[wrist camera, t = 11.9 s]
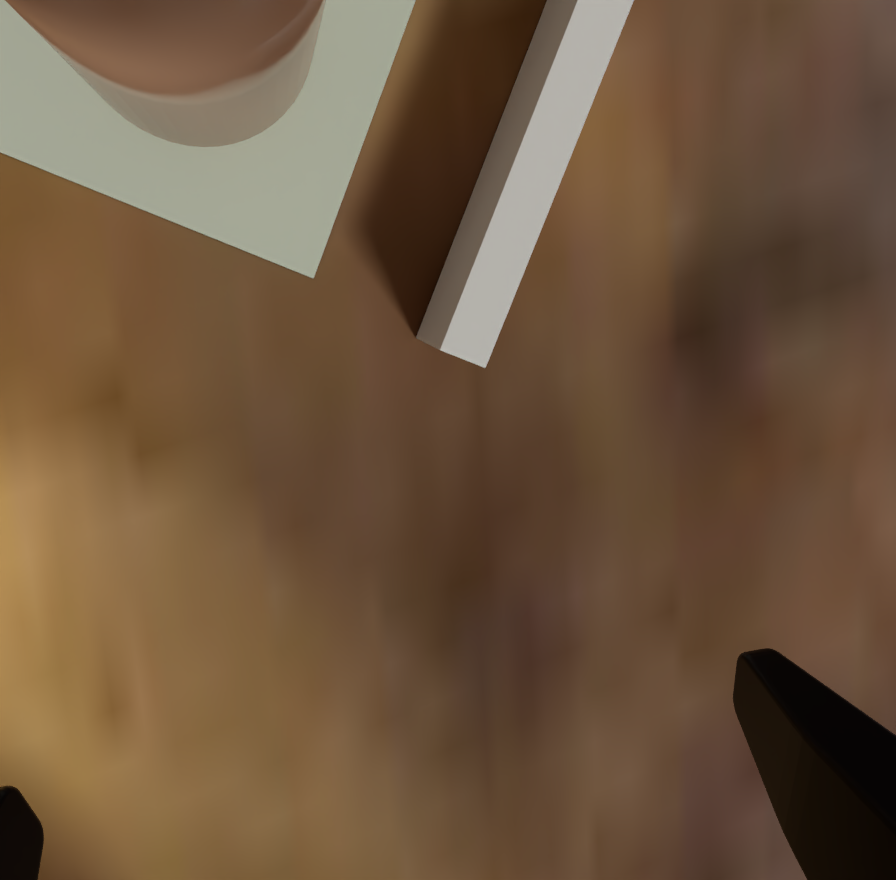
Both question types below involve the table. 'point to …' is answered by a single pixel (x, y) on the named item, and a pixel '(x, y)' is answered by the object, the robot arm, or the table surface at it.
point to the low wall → (521, 175)
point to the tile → (213, 168)
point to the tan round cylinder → (186, 60)
